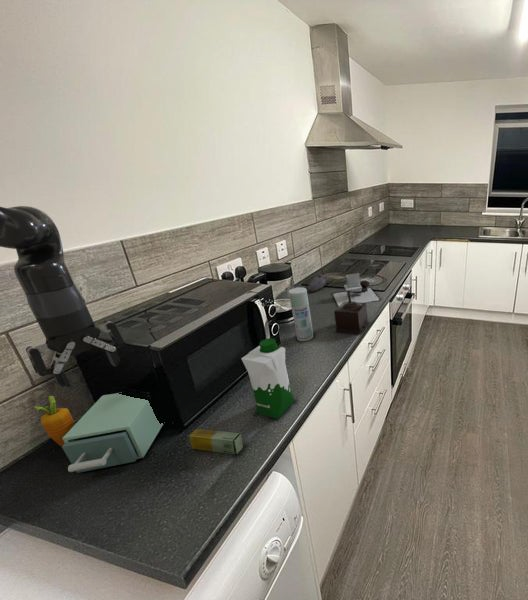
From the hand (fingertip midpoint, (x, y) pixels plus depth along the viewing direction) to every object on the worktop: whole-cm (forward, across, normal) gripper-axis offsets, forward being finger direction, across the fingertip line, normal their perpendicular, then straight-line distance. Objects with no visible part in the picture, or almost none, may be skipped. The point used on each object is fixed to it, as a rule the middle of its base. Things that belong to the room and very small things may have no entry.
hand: (92, 375), depth 71 cm
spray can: (+21, -60, +1) cm, 64 cm away
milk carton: (+21, -26, +23) cm, 41 cm away
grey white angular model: (+21, -104, -6) cm, 106 cm away
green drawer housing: (+21, -1, -1) cm, 21 cm away
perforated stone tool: (+21, -104, -32) cm, 111 cm away
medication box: (+21, -10, +22) cm, 32 cm away
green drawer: (+20, +2, +2) cm, 20 cm away
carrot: (+21, +7, -10) cm, 24 cm away
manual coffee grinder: (+21, -78, +13) cm, 82 cm away
